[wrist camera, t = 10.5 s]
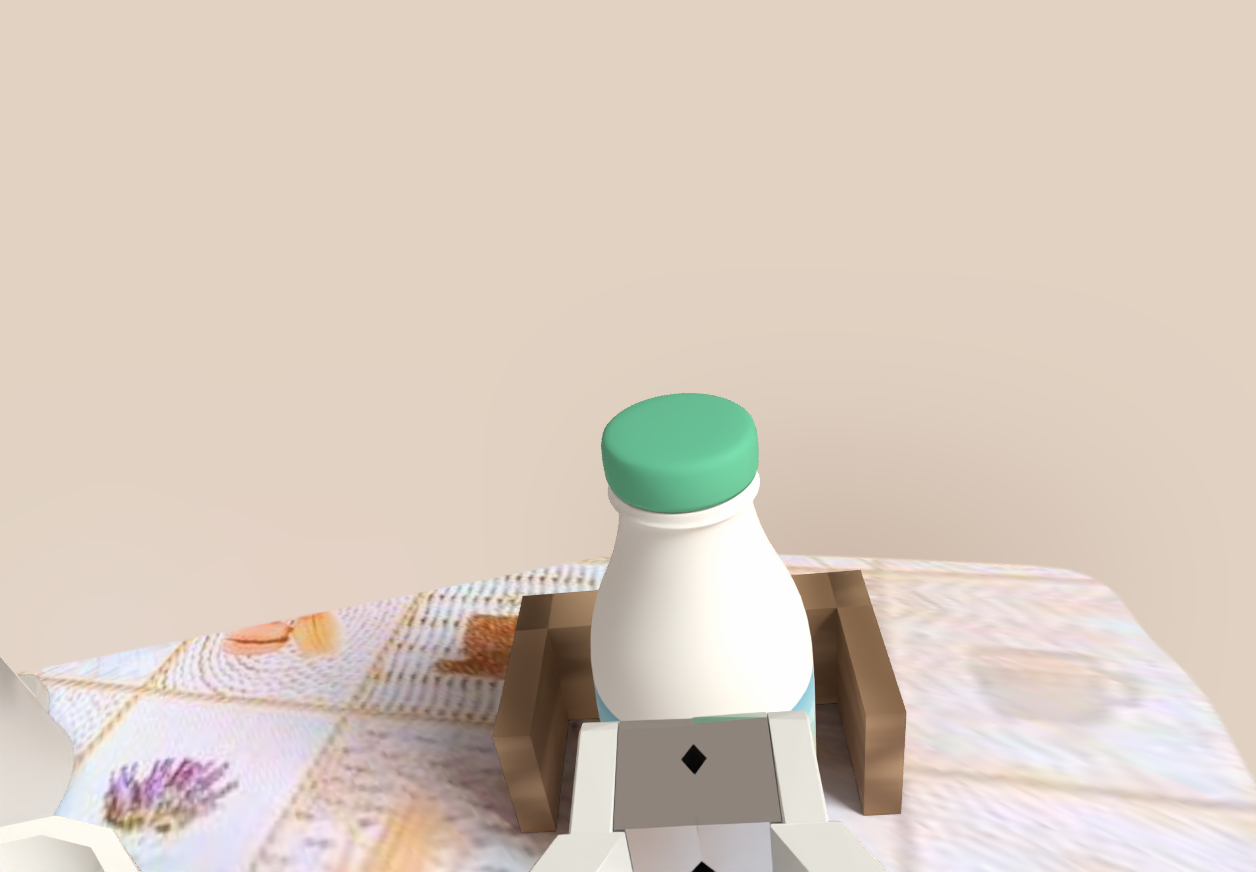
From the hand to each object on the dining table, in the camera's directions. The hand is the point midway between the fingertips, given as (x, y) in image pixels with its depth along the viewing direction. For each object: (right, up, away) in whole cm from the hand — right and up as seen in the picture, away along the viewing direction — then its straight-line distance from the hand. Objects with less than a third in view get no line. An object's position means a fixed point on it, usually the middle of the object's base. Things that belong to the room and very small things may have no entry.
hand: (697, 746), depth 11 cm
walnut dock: (+3, -10, +28) cm, 30 cm away
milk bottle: (+3, -13, +23) cm, 27 cm away
